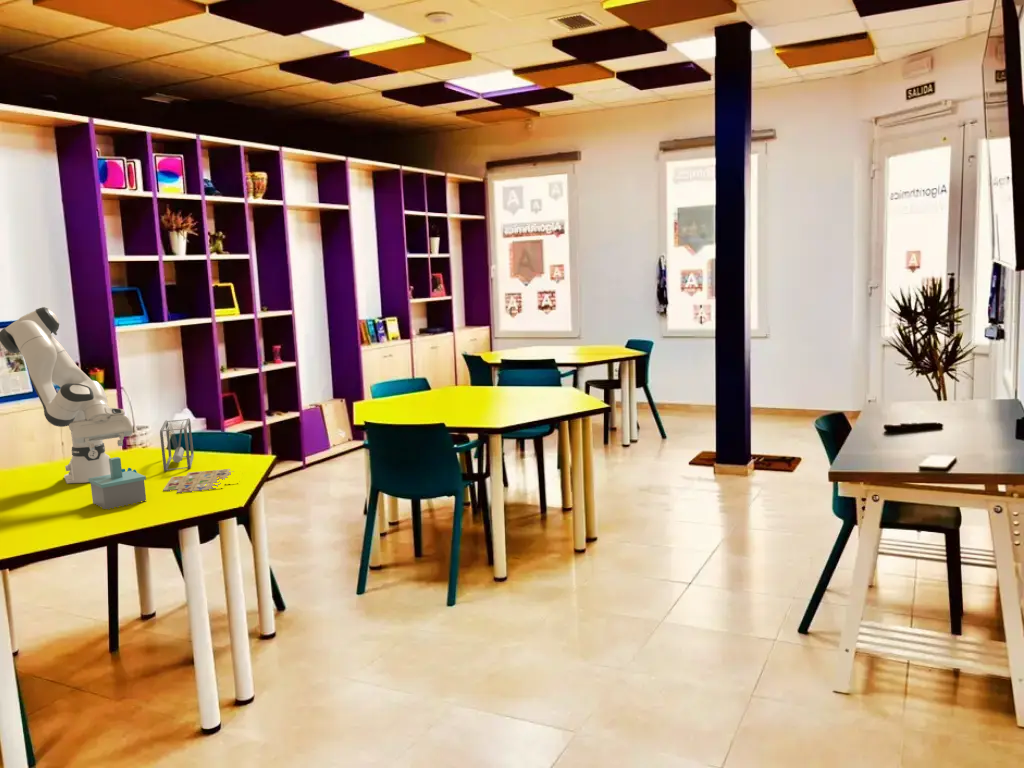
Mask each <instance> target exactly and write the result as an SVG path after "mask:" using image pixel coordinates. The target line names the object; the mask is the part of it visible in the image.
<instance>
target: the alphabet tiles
mask: <svg viewBox="0 0 1024 768" xmlns="http://www.w3.org/2000/svg"><path fill="white" fill-rule="evenodd" d="M229 471H230V472H229ZM234 471H235V470H234ZM234 471H231V468H227V469H225V468H224V469H216V470H214V469H213V470H203V471H192V472H191V471H190V472H187V474H186V475H181V476H179V475H178V476H171V478H170V479H169V480H168V482H167V483H166V484H165V486H164V488H163V490H162V492H163V491H167V492H171V491H170V490H177V491H176V494H177V493H180V494H183V493H182V492H190V493H193V492H192V491H200V492H203V491H202V490H208V491H210V490H209V489H216V488H213V487H212V486H217V487H218V485H220V484H221V483H220V484H218V485H215V484H213V483H219V482H220V481H219V482H217V480H219V479H222V480H223V479H224V480H225V478H228V477H227V476H229V475H231V472H234ZM218 477H219V478H218ZM217 478H218V479H217ZM206 484H207V485H206ZM205 485H206V486H205Z"/></svg>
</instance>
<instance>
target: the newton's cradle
mask: <svg viewBox="0 0 1024 768" xmlns="http://www.w3.org/2000/svg"><path fill="white" fill-rule="evenodd" d="M172 423H173V424H176V425H173V424H172ZM184 423H185V425H184ZM177 425H180V426H177ZM183 425H184V428H183ZM174 431H179V437H178V441H177V437H176V435H175V432H174ZM164 432H166V441H167V442H166V443H167V451H168V459H166V450H165V442H164V441H165V440H164ZM182 433H183V434H184V443H185V445H184V446H185V449H184V448H183V446H181V445H182V444H181V442H182ZM159 437H160V446H161V455H162V465H163V471H164V472H168V471H171V470H172V471H173V470H180V469H188V470H190V469H191V468H192V464H193V461H194V457H195V456H194V455H195V454H194V445H193V435H192V425H191V419H190V418H187V419H175V420H167V419H166V420H164V422H163V424H162V426H161V429H160V430H159ZM188 438H189V440H188ZM171 443H172V446H173V449H174V453H173V455H172V447H171ZM189 445H190V447H189ZM185 452H186V453H185ZM184 453H185V454H186V455H184ZM183 458H186V464H187V467H185V466H184V467H176V468H169V467H170V463H171V461H173V462H174V463H180V462H181V461H182V460H183ZM166 460H167V461H166Z"/></svg>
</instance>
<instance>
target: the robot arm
mask: <svg viewBox="0 0 1024 768" xmlns="http://www.w3.org/2000/svg"><path fill="white" fill-rule="evenodd" d="M59 329H60V323H59V318H58V316H57V314H56V313H54V311H52V310H51V309H49V308H47V307H45V306H42V307H38V308H36V309H35V310H34V311H31V312H29V313H27V314H24V315H23V316H21V317H19V318H18V319H17V320H15V321H14V322H11V324H8V326H6V327H4V328H2V329H1V330H0V345H1V347H2V348H3V349H4V350H6V351H7V352H9V353H10V354H17V353H20V354H21V355H22V357H23V360H24V361H25V364H26V367H27V370H28V375H29V378H30V382H31V384H32V386H33V388H34V391H35V392H36V395H37V396H38V399H39V401H40V402H41V405H42V407H43V415H44V417H45V419H46V420H47V422H48V423H49V424H50V425H53V426H55V427H61V428H63V427H64V428H65V427H68V428H69V430H70V436H71V443H72V447H71V456H72V457H71V459H70V461H69V463H68V464H67V465H64V466H65V472H68V473H67V474H64V476H63V477H64V480H65V483H66V484H81V483H82V484H83V483H84V484H85V483H90V482H89V481H88V478H94V477H99V476H104V475H110V474H111V473H110V464H109V459H110V458H111V456H110V455H109V454H107V453H106V446H105V443H104V442H103V441H104V440H111V439H116V438H119V439H117V446H118V447H122V446H123V447H124V443H123V441H124V439H125V437H129V436H132V435H133V433H134V427H133V425H132V423H131V420H130V418H129V417H128V416H127V415H126V414H125V410H124V408H115V407H110V406H109V405H108V397H107V394H106V392H105V389H104V387H103V386H102V384H101V383H99V381H97V380H94V379H91V377H89V376H88V375H87V374H86V373H85V372H84V371H83V370H82V369H81V368H80V367H79V366H78V365H77V364H76V362H75V361H74V359H73V358H72V357H71V356H70V354H69V353H68V352H67V350H66V349H65V348H64V346H63V345H62V344H61V343H60V342H59V341H58V340H57V339H56V338H55V336H57V335H58V333H57V332H58V330H59ZM52 333H53V334H54V335H55V336H54V335H52ZM54 384H55V385H57V387H59V389H58V391H56V389H55V386H54Z"/></svg>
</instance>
